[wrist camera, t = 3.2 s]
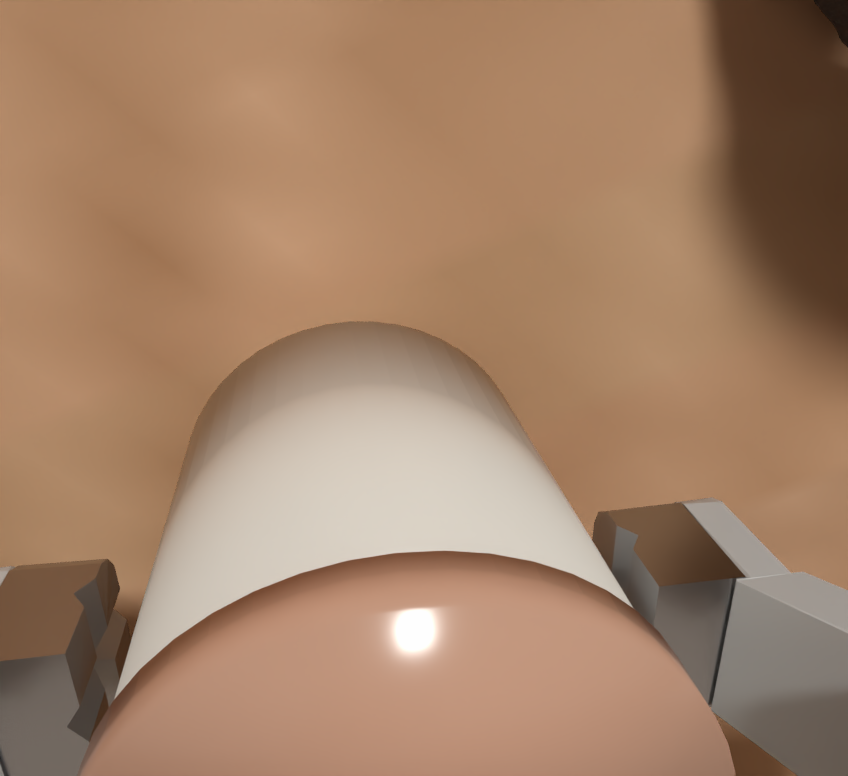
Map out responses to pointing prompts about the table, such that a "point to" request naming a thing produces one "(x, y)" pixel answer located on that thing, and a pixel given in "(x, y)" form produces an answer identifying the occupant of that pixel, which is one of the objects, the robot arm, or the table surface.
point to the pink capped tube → (386, 591)
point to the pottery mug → (836, 15)
